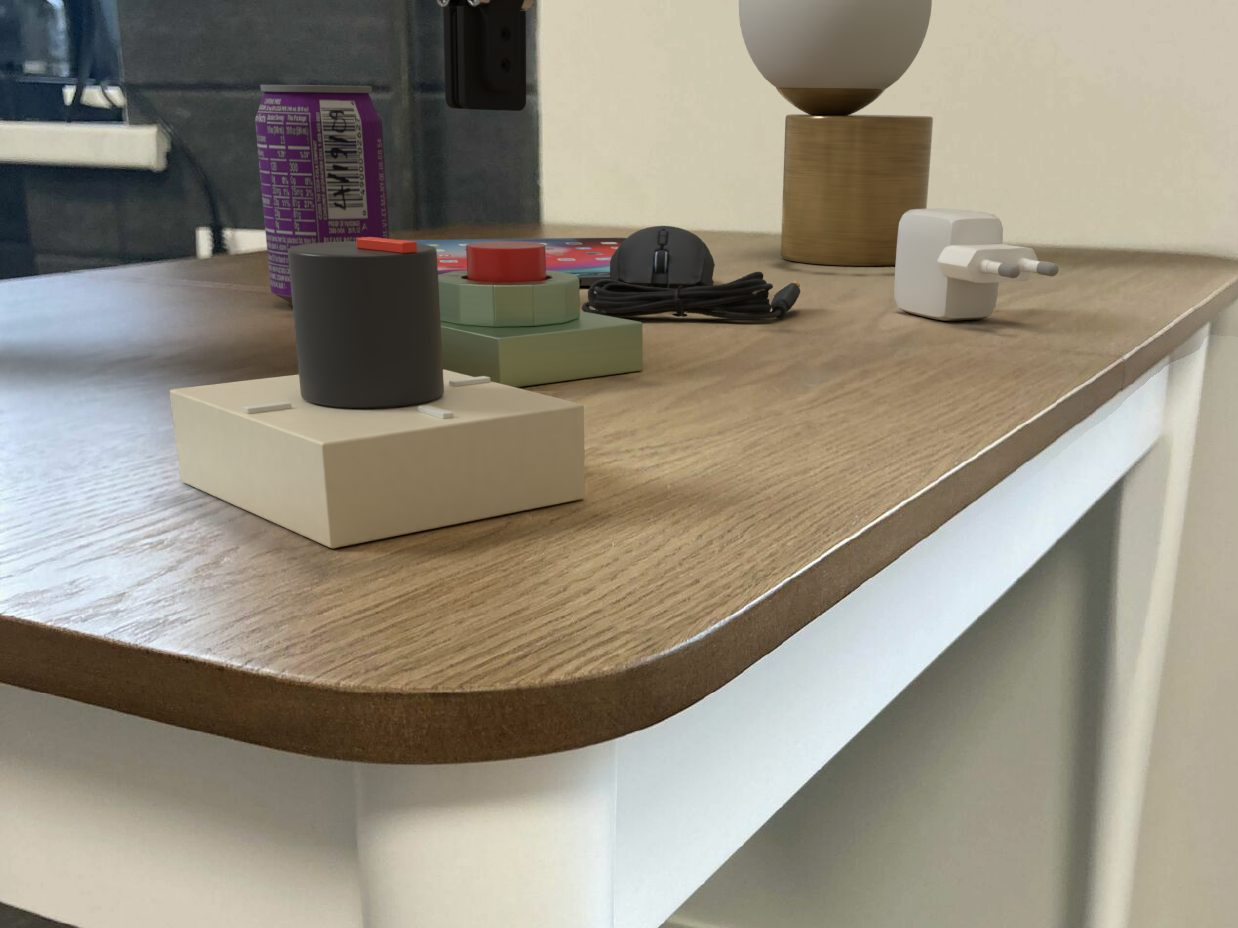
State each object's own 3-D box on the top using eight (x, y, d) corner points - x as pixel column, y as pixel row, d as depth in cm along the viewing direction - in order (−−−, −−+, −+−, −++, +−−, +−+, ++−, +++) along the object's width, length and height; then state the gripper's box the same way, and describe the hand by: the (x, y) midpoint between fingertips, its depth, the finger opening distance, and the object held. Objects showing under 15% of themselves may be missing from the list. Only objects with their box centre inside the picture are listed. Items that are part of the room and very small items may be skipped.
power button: (452, 283, 68) (450, 244, 67) (516, 278, 70) (515, 239, 70) (497, 291, 66) (495, 250, 65) (561, 285, 68) (561, 246, 67)
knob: (271, 395, 46) (256, 237, 44) (381, 377, 49) (371, 228, 47) (363, 415, 43) (351, 247, 41) (473, 394, 46) (466, 237, 45)
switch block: (380, 359, 70) (374, 272, 69) (517, 343, 75) (515, 262, 74) (500, 390, 64) (496, 294, 62) (643, 370, 68) (643, 281, 67)
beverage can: (410, 298, 91) (397, 86, 86) (367, 314, 85) (352, 86, 80) (301, 294, 92) (283, 85, 87) (251, 309, 86) (229, 84, 81)
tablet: (430, 291, 94) (429, 277, 94) (392, 250, 116) (392, 239, 116) (716, 285, 99) (717, 272, 99) (628, 247, 121) (628, 237, 121)
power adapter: (1065, 333, 81) (1078, 221, 79) (993, 338, 79) (1004, 223, 77) (948, 307, 90) (956, 206, 88) (881, 311, 88) (887, 207, 86)
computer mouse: (807, 285, 98) (810, 221, 96) (794, 327, 82) (797, 252, 80) (624, 280, 99) (624, 216, 97) (576, 320, 83) (575, 246, 81)
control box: (179, 481, 48) (167, 384, 47) (417, 444, 54) (412, 356, 52) (331, 549, 41) (321, 437, 40) (586, 499, 47) (584, 398, 45)
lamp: (778, 272, 107) (792, -123, 97) (705, 253, 119) (711, -100, 109) (959, 266, 112) (990, -110, 102) (872, 248, 124) (892, -89, 114)
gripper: (676, -414, 55) (660, 118, 62) (454, -344, 65) (463, 106, 72) (510, -468, 50) (514, 114, 58) (299, -384, 60) (325, 102, 68)
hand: (486, 108), depth 65 cm, fingers closed
